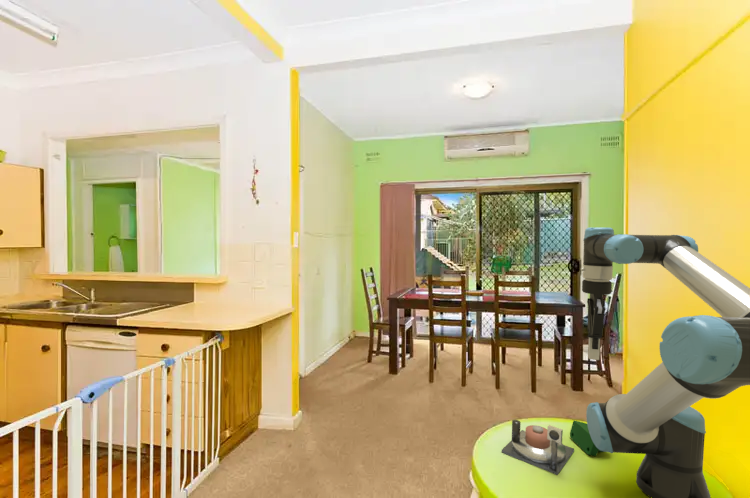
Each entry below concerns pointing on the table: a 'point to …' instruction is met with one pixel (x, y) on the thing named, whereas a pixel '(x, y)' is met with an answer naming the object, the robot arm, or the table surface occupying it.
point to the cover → (537, 437)
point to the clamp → (583, 438)
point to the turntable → (532, 452)
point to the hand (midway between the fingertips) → (593, 358)
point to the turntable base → (540, 465)
